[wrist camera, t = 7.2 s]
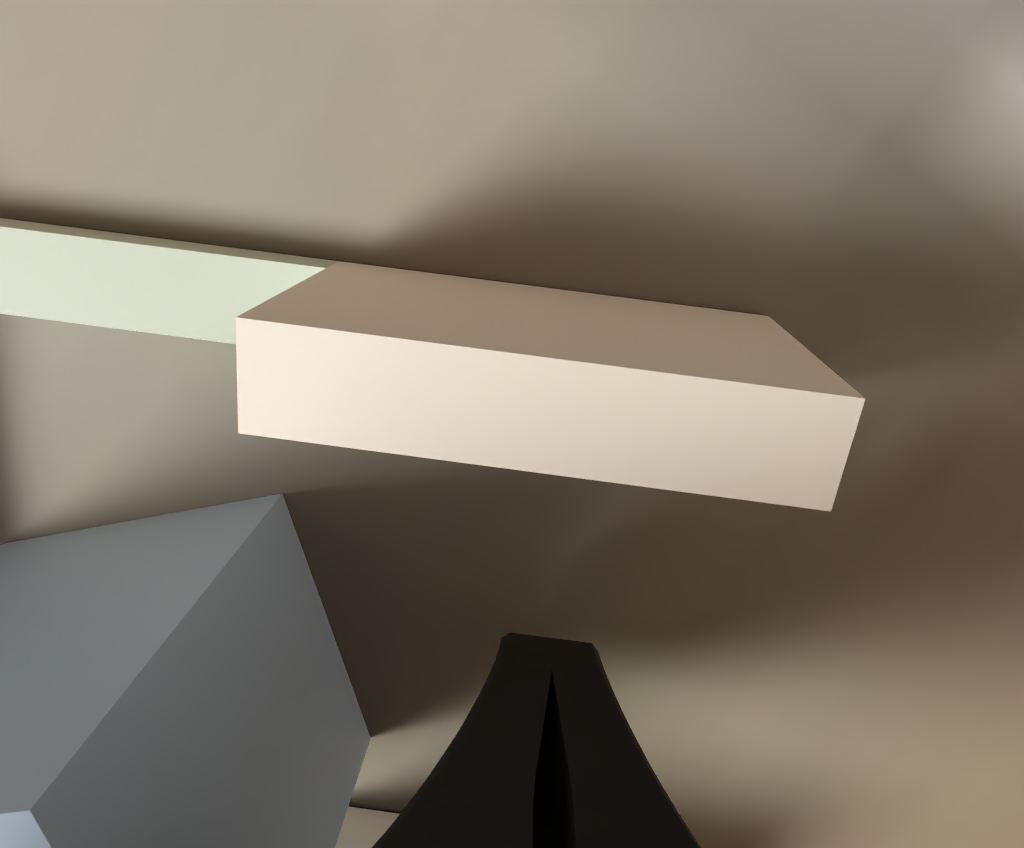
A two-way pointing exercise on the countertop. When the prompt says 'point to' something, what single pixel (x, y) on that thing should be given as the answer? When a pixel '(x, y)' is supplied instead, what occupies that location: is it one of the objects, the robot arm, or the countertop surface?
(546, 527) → the countertop surface
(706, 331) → the channel
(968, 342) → the countertop surface
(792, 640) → the countertop surface
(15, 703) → the block
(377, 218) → the countertop surface
